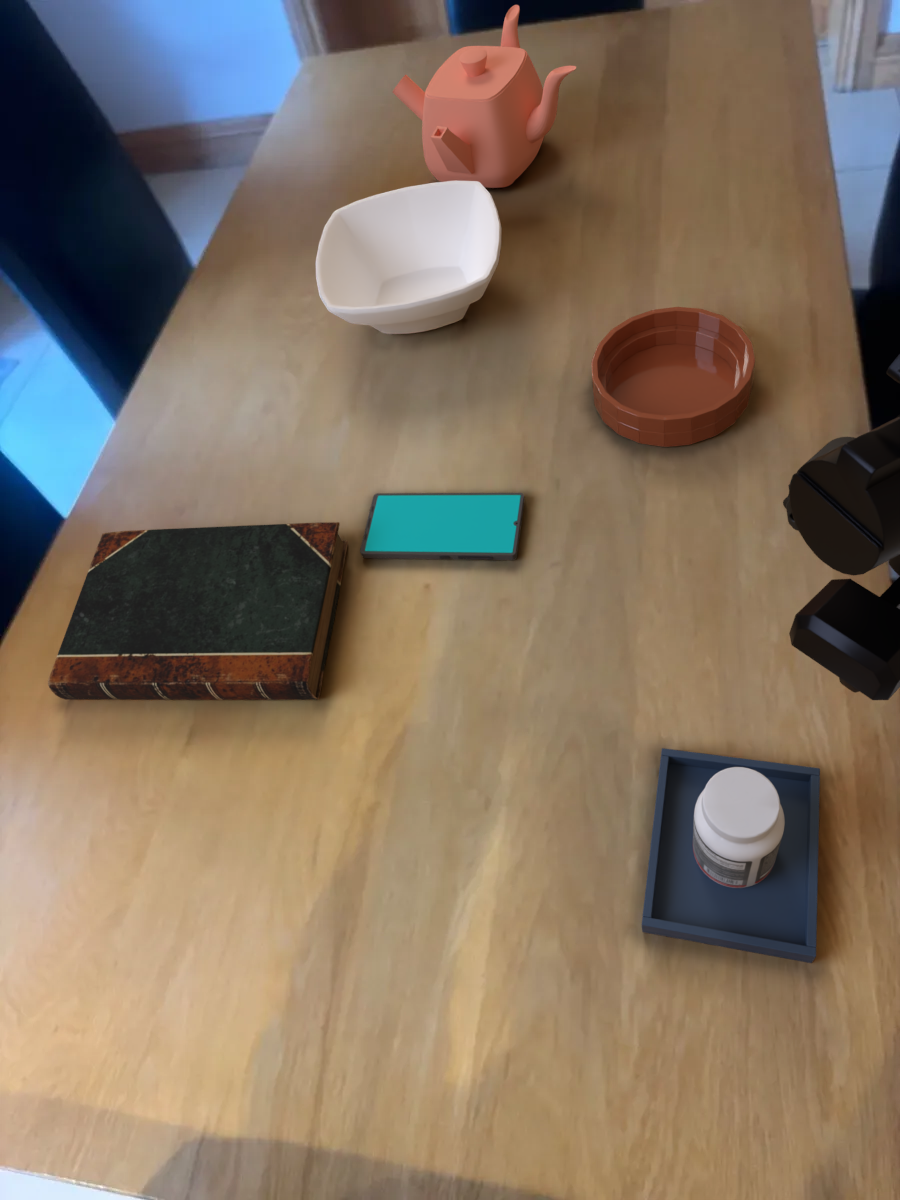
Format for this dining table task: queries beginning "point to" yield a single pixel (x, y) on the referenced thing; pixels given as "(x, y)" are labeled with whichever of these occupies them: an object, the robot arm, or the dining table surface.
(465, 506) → the smartphone
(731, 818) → the pill bottle
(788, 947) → the tray
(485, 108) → the teapot
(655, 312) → the terracotta bowl
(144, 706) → the dining table surface
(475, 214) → the bowl
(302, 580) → the book
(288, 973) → the dining table surface
